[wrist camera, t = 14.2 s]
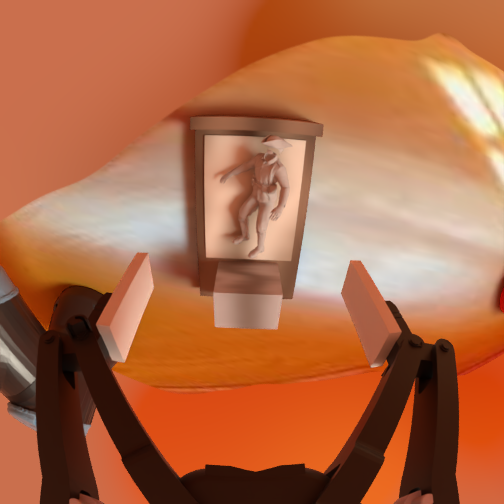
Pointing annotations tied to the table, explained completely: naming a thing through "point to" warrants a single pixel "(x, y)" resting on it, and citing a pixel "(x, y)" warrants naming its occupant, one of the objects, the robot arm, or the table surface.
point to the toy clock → (502, 300)
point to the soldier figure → (263, 191)
